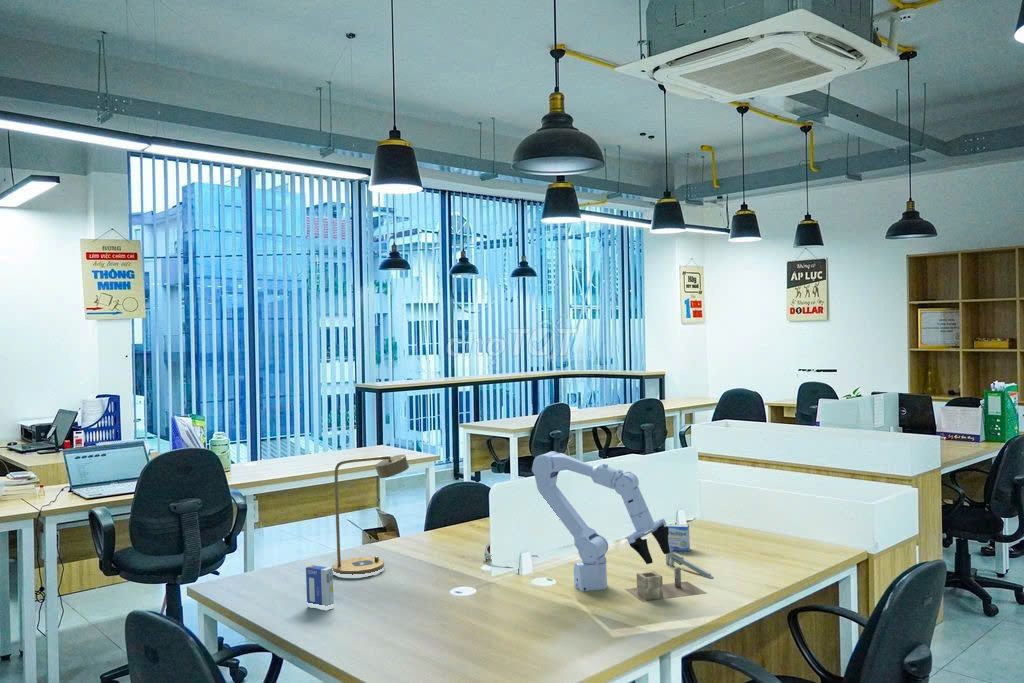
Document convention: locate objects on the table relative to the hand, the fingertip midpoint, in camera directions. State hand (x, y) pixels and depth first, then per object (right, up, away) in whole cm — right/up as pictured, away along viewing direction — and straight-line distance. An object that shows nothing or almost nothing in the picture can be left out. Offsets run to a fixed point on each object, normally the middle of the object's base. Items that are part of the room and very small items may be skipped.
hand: (658, 558), depth 221 cm
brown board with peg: (+2, -11, +1) cm, 12 cm away
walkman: (-97, -15, +2) cm, 99 cm away
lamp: (-89, -15, +41) cm, 99 cm away
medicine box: (+17, -12, +51) cm, 55 cm away
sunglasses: (-43, -14, +47) cm, 66 cm away
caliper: (+15, -12, +25) cm, 31 cm away
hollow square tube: (-3, -10, -3) cm, 11 cm away
